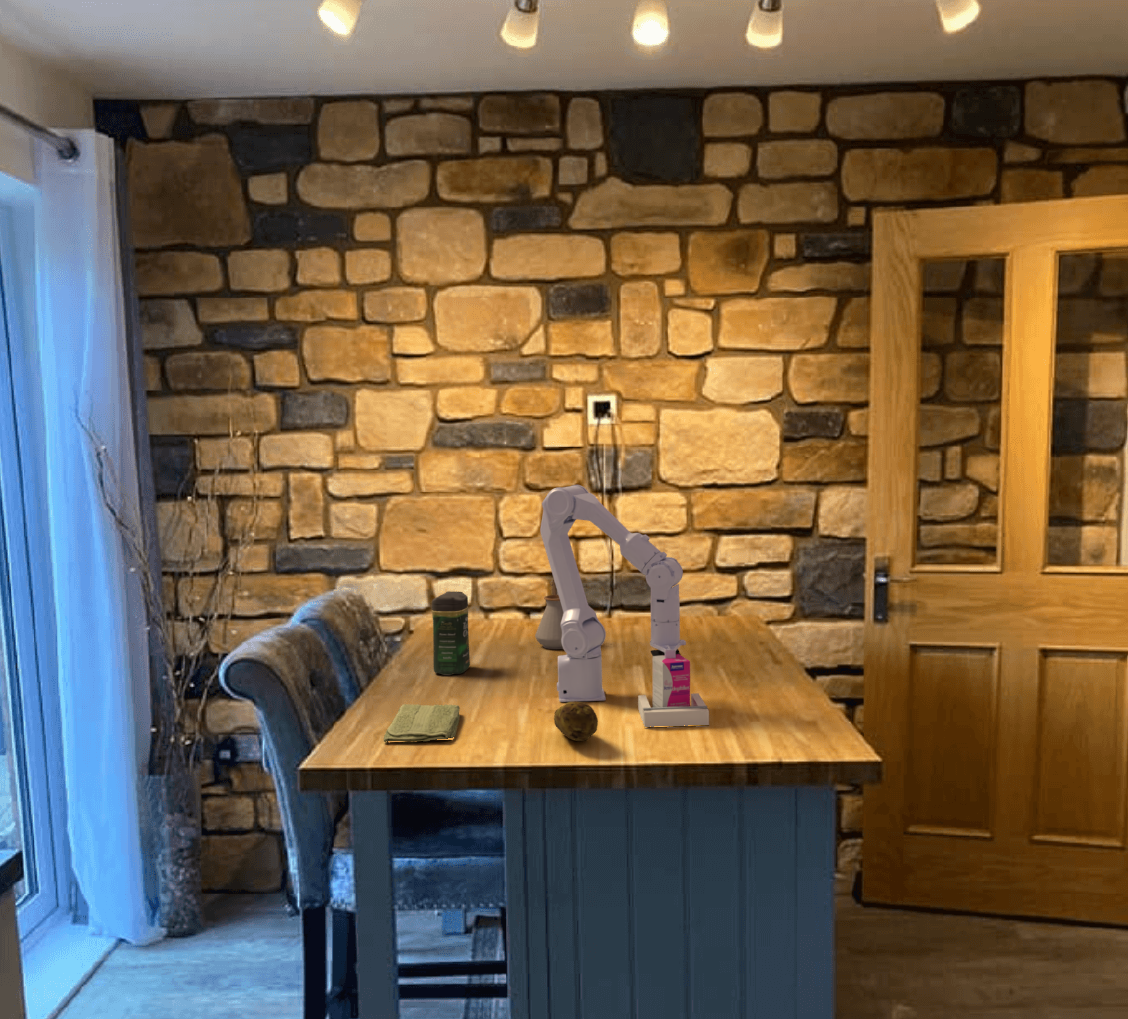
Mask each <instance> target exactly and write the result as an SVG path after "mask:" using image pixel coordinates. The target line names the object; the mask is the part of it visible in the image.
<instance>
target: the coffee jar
mask: <svg viewBox="0 0 1128 1019" xmlns="http://www.w3.org/2000/svg"><path fill="white" fill-rule="evenodd" d="M431 614H432V615H431V616H432V638H433V641H432V642H433V643H432V644H433V648H432V649H433V650H432V652H433V656H432V658H433V660H432V661H433V663H432V664H433V666H432V667H433V672H434V673H435V674H441V675H442V676H452V675H455V674H457V675H458V674H463V673H464V672H465V671H467V670H468V669H469V668H470V665H471V661H470V660H471V657H470V639H469V637H470V636H469V597H468V595H466V593H463V591H445V593H442V594H440V595H439V596H436V597H434V598H432V600H431Z"/></svg>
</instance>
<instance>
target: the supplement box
mask: <svg viewBox="0 0 1128 1019" xmlns="http://www.w3.org/2000/svg"><path fill="white" fill-rule="evenodd" d="M680 654H681V653H680ZM680 654H676V658H665V655H662V656H652V707H682V706H691V661H690V660H689V659H687V658H686V657H684V656H682V654H681V655H680Z"/></svg>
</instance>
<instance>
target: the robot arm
mask: <svg viewBox="0 0 1128 1019" xmlns="http://www.w3.org/2000/svg"><path fill="white" fill-rule="evenodd" d="M541 506H542V517H541V518H542V519H541V523H540V536H541V539H542V543H543V546H544V548H545V554H546V556H547V560H548V564H549V568H550V570H551V573H552V577H553V580H554V581H555V584H556V588H557V595H559V598H560V602H561V605H562V609H563V612H564V614H563V617H562V621H561V629H562V638H561V643H562V647H563V649H562V650H564V652H565V653H566V654H562V655H558V656H557V681H558V682H556V691H557V692H558V701H559V702H561V703H568V702H574V701H577V702H596V701H598V702H599V701H606V694H605V690H604V688H603V668H602V667H603V666H602V665H603V664H602V662H603V661H602V657H603V656H602V650H601V646H602V645H603V644H604V642H605V640H606V637H607V636H606V635H607V634H606V633H607V632H606V629H605V627H604V624H602V622H600V620H599V618H598V615H597V612H596V611H595V610H594V609H593V608H592V607H591V606H590V605H589V603H588V600H587V597H586V593H585V588H584V585H583V582H582V579H581V575H580V572H579V569H578V566H577V561H576V558H575V555H574V551H573V548H572V545H571V540H570V536H569V532H570V530H571V528H572V527H573V525H574V523H575V522H576V520H580V521H587V522H590V523H592V524H593V525H594V526H596V527H597V528H598V529H599V530H600V531H601V532H603V533H604V534H605V535H606V536H608V537H609V538H611V539H612V540H613V541H614V542H615V543H617V544H618V545H619V550H620V554H621V556H622V557H623V558H625V560H627V561H628V562H629V563H630V564H631V565H632V566H633V567H634V568H635V569H637V570H638V571H639V572H640V573H641V574H642V575H644V576H645V582H646V584H647V585H648V586H649V588H650V640H649V645H650V647H652V648H654V649H652V650H650V654H651V655H652V657H653V656H662V655H665V658H676V654H680V655H681V656H682V654H681V653H680V650H679V648H680V647H681V646H686V644H687V641H686V640H685V639H681V636H680V635H681V634H680V633H681V632H680V631H681V628H680V621H681V619H680V615H681V614H680V584H679V583H680V582H681V580H682V579H683V577H684V576H683V574H684V572H683V567H682V565H681V564H680V563H679V561H678V559H676V558H675V557H670V556H668V554H667V553H666V552H665V551H661V550H660V549H658V547H656V545H654V544H653V543H651V541H650V540H651V538H650V537H649V536H648V535H647V534H641V532H634V533H633V532H630V530H628V528H627V527H625V526H624V525H623V523H621V521H620V520H618V519H617V517H616V516H614V515H613V514H612V512H610V511H609V510H608V508H606V507H605V506H604V505H603V503H601V502H600V500H599V499H598V498H597V497H596V495H595V494H593V493H592V492H589V491H588V490H587V488H586V487H585V486H582V485H580V484H574V485H573V484H572V485H571V486H563V487H555V488H553V489H551V490H550V491H549V492H548V493H547V495H546V497H545V498H544V499H543V501H542V502H541ZM667 556H668V557H667Z"/></svg>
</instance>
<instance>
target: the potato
mask: <svg viewBox="0 0 1128 1019" xmlns="http://www.w3.org/2000/svg"><path fill="white" fill-rule="evenodd" d="M553 720H554V721H553V722H554V726H555V727H556V728H557V729H558V730H559V732H560V733H561V734H562V735H564V736H565V737H567V738H568V739H570V740H573V741H575V740H576V742H583V741H584V740H585V741H587V740H589V739H590V738H591V737H592V736H593V735H594V734H595V733H596V732H597V731H598V725H599V720H598V716H597V713H596V712H595V710H594V709H593V708H592V706H591V705H590V704H588V703H587V702H583V701H573V702H565V704H564V705H562V706H560V707H559V708H557V709H555V711H554V716H553Z"/></svg>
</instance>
